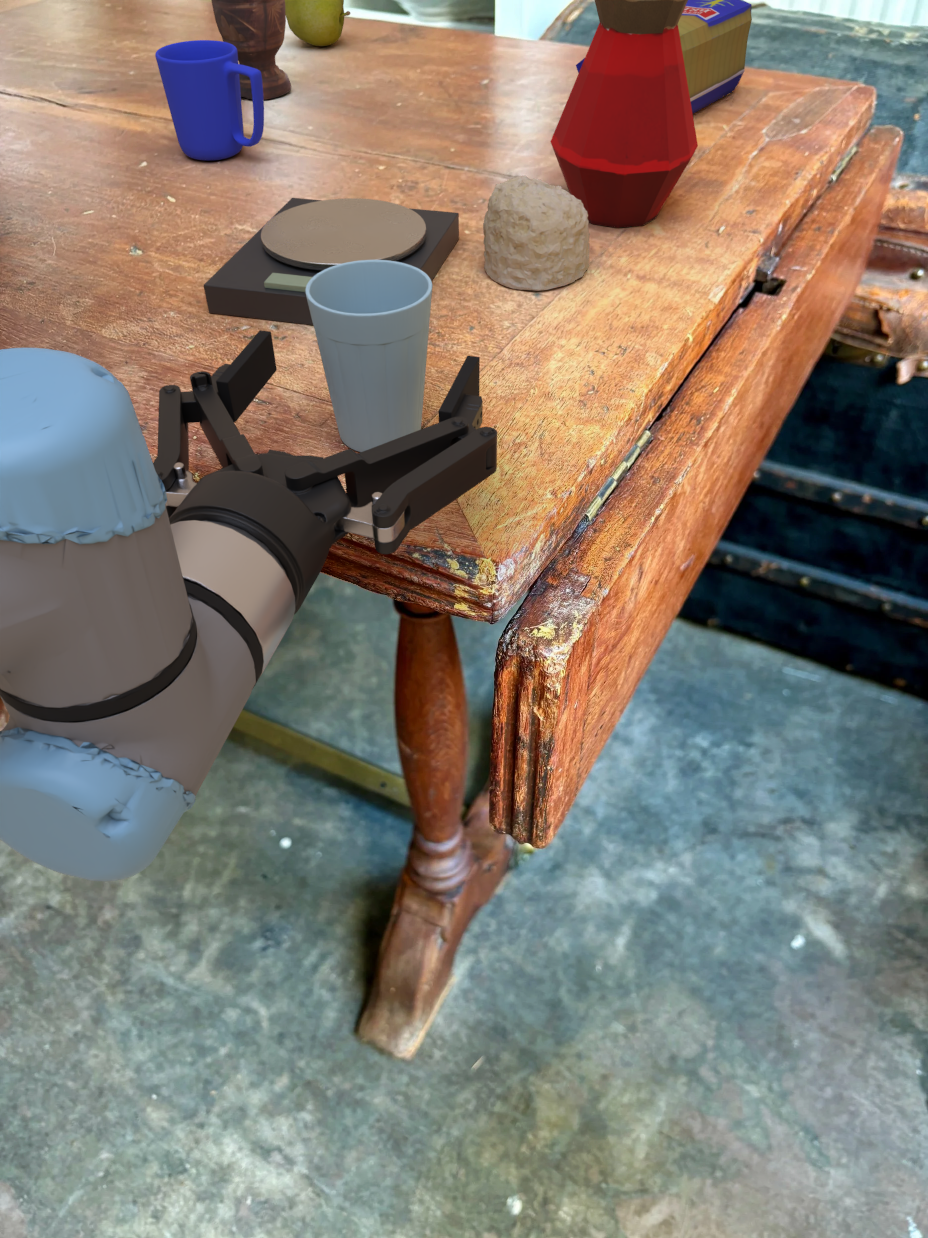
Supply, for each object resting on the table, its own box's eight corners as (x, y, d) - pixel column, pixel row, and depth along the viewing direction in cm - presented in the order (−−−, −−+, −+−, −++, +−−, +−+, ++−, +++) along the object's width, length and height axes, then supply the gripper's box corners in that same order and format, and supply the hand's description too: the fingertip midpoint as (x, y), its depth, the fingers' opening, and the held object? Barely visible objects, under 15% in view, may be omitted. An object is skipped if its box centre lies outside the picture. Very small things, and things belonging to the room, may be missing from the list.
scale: (208, 313, 80) (201, 278, 78) (295, 222, 94) (291, 191, 92) (397, 335, 77) (395, 299, 75) (459, 238, 91) (458, 206, 89)
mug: (244, 178, 103) (228, 70, 96) (159, 157, 107) (137, 53, 100) (294, 154, 108) (282, 50, 101) (210, 135, 112) (193, 35, 105)
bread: (749, 91, 123) (766, -6, 116) (649, 146, 109) (661, 39, 101) (676, 77, 127) (688, -17, 120) (571, 128, 113) (577, 25, 106)
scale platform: (234, 261, 81) (233, 254, 81) (297, 198, 91) (297, 191, 91) (398, 278, 79) (398, 271, 78) (445, 212, 88) (445, 205, 88)
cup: (298, 437, 67) (278, 289, 60) (376, 391, 71) (366, 248, 64) (381, 478, 63) (371, 326, 56) (458, 427, 68) (457, 280, 61)
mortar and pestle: (297, 108, 119) (274, -95, 106) (224, 112, 118) (191, -92, 105) (294, 80, 128) (272, -112, 114) (226, 84, 127) (195, -109, 113)
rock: (534, 287, 92) (477, 188, 88) (623, 241, 87) (566, 133, 83) (500, 331, 86) (436, 226, 82) (593, 284, 80) (529, 169, 76)
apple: (350, 52, 137) (345, -15, 132) (284, 52, 137) (277, -15, 132) (356, 38, 143) (351, -28, 137) (293, 38, 143) (286, -28, 138)
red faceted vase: (551, 176, 102) (562, -57, 88) (684, 181, 101) (717, -55, 87) (542, 238, 91) (555, -18, 77) (692, 244, 90) (732, -15, 76)
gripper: (21, 592, 53) (198, 390, 68) (479, 677, 48) (560, 440, 63) (-28, 475, 47) (175, 284, 62) (479, 557, 43) (568, 329, 58)
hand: (369, 362), depth 63 cm, fingers open, 13 cm apart
